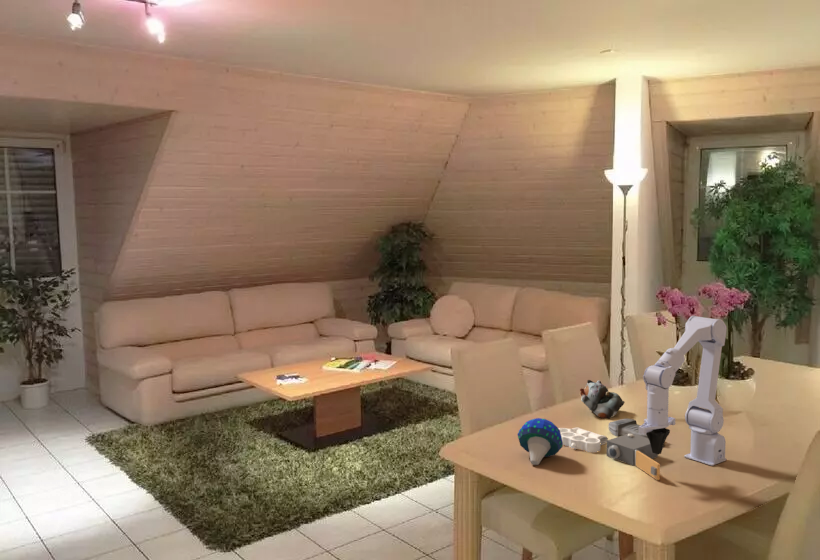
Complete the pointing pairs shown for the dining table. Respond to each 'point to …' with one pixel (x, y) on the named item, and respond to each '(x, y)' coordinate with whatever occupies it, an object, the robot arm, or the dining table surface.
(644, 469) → the side door
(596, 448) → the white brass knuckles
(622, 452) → the grey box with knob
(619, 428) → the handheld device
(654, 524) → the dining table surface
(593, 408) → the lucky cat figurine
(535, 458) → the mushroom
